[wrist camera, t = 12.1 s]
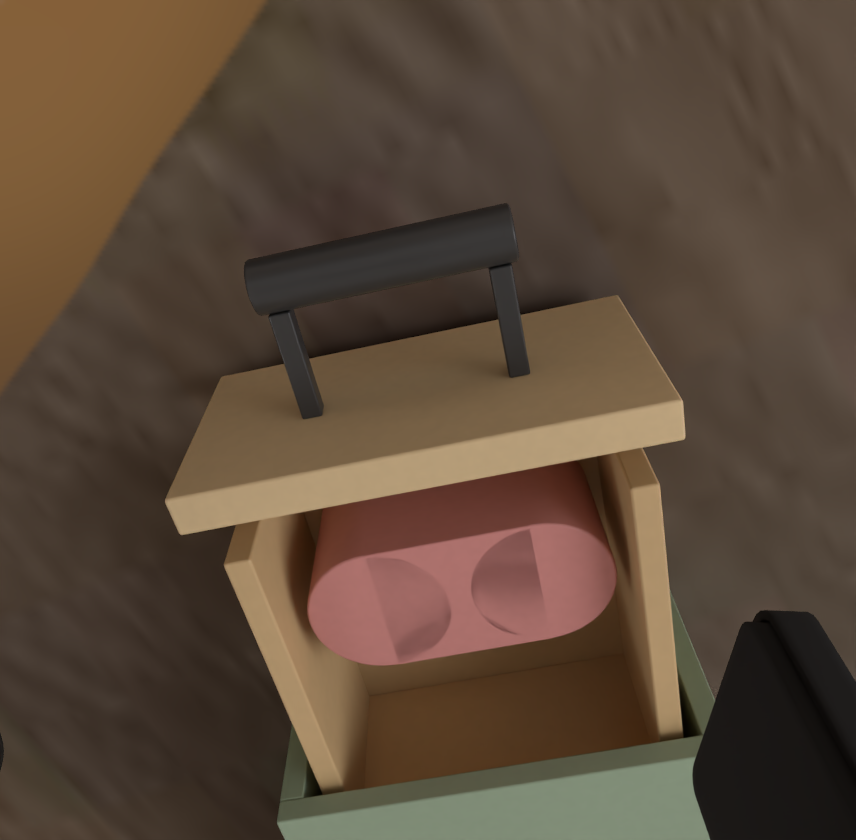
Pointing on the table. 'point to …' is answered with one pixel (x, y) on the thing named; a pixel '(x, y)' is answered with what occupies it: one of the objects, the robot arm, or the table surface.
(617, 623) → the drawer
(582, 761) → the cabinet
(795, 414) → the table surface
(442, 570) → the pink notched rounded block
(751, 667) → the robot arm
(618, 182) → the table surface
